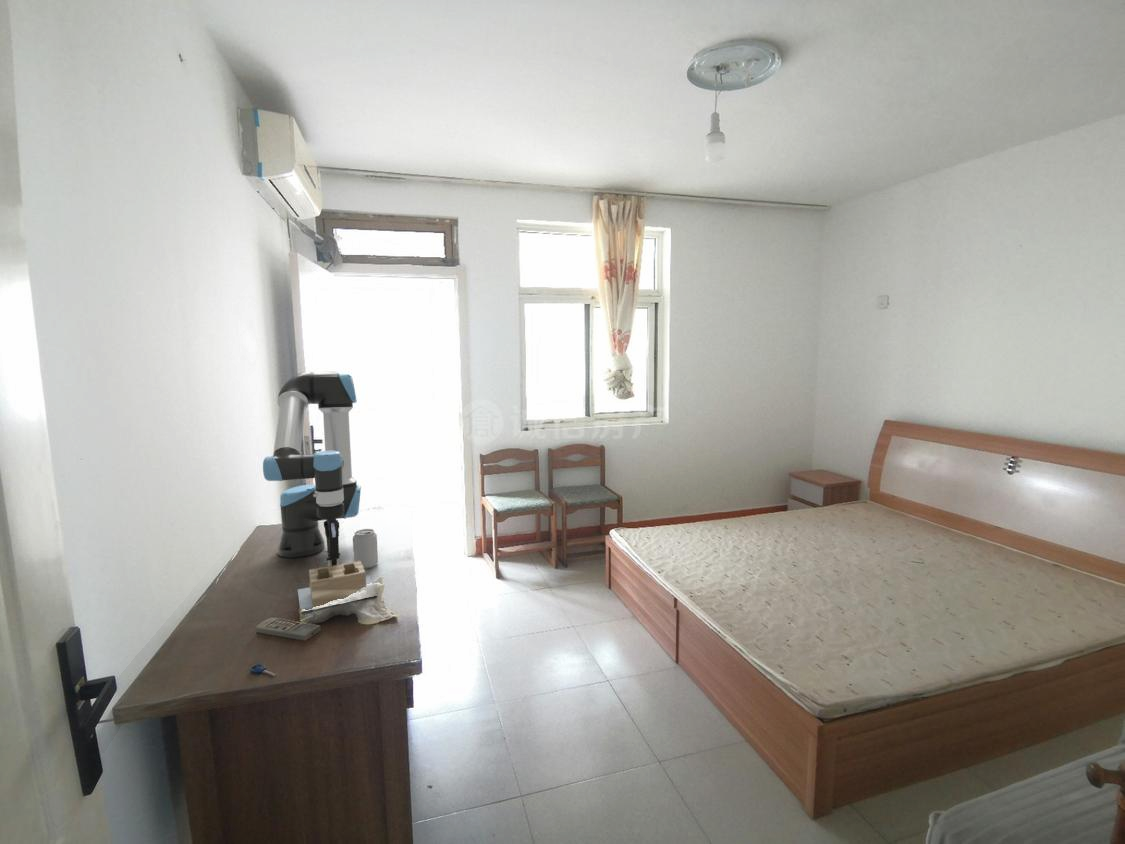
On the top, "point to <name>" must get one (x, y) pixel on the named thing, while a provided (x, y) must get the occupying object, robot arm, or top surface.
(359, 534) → the can
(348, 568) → the wooden cubby shelf
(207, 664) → the top surface
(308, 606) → the panel
